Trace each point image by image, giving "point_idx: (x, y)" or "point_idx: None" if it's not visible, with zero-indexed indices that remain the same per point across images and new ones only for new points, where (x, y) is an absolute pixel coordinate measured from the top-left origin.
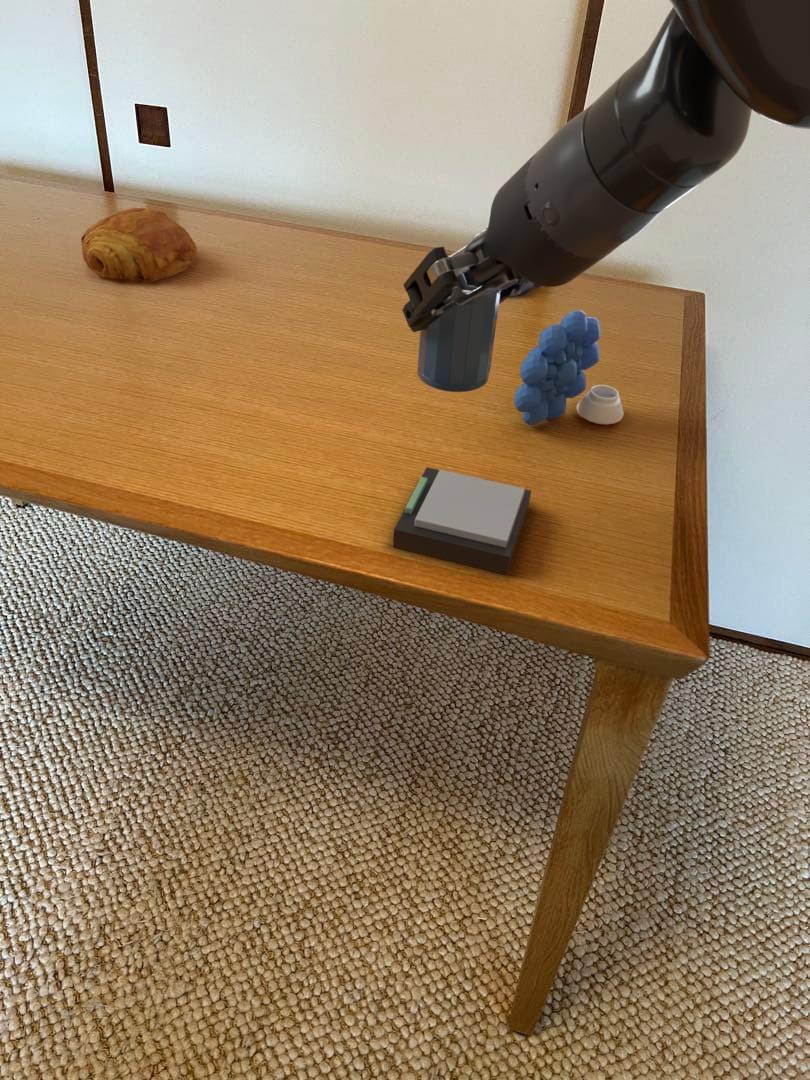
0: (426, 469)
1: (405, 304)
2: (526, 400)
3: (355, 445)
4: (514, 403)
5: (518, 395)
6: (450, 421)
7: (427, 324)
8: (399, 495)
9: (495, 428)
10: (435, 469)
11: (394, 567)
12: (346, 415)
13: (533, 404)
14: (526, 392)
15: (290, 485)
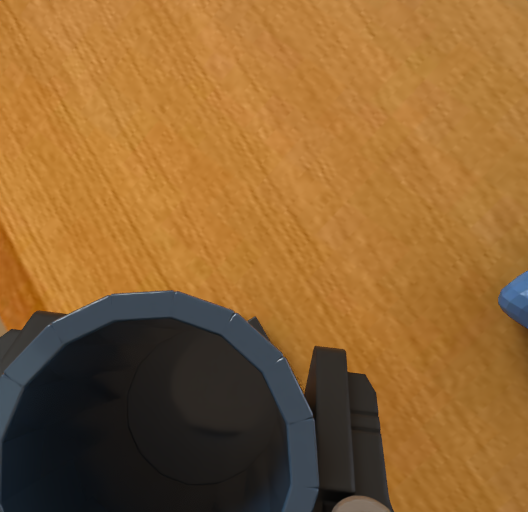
0: (250, 321)
1: (31, 317)
2: (514, 313)
3: (243, 174)
4: (501, 291)
5: (511, 295)
6: (415, 212)
7: None
8: None
9: (463, 273)
10: (262, 330)
11: None
12: (288, 101)
13: (521, 324)
14: (525, 306)
15: (99, 197)
